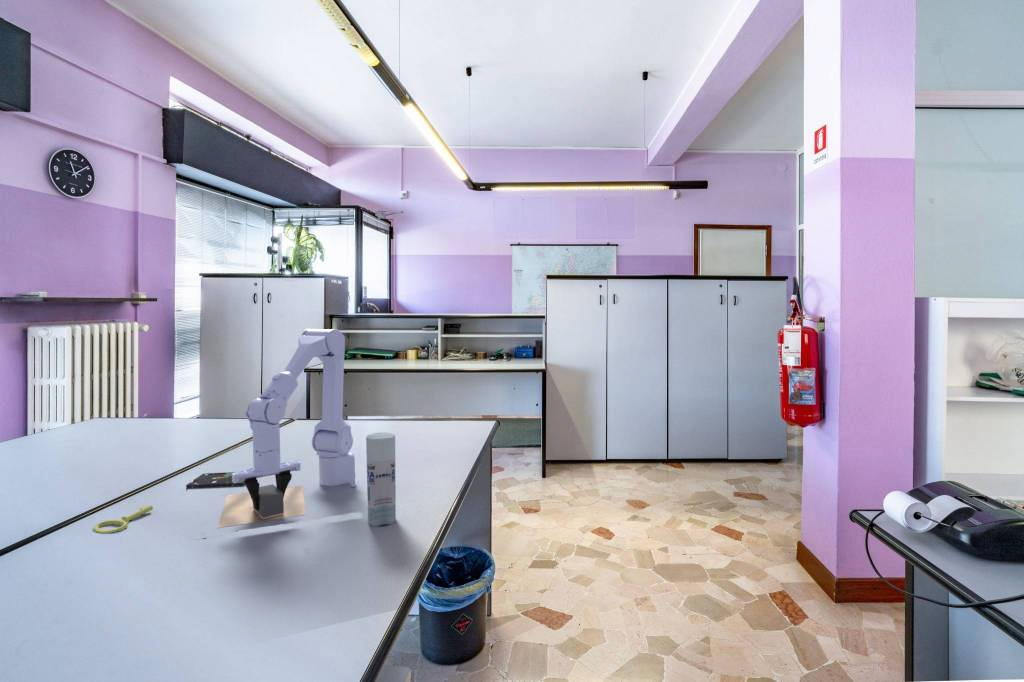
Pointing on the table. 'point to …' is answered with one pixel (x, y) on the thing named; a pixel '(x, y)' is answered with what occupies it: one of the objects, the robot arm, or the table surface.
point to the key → (121, 521)
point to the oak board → (242, 512)
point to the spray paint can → (381, 479)
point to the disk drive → (214, 481)
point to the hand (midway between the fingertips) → (268, 506)
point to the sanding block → (270, 502)
